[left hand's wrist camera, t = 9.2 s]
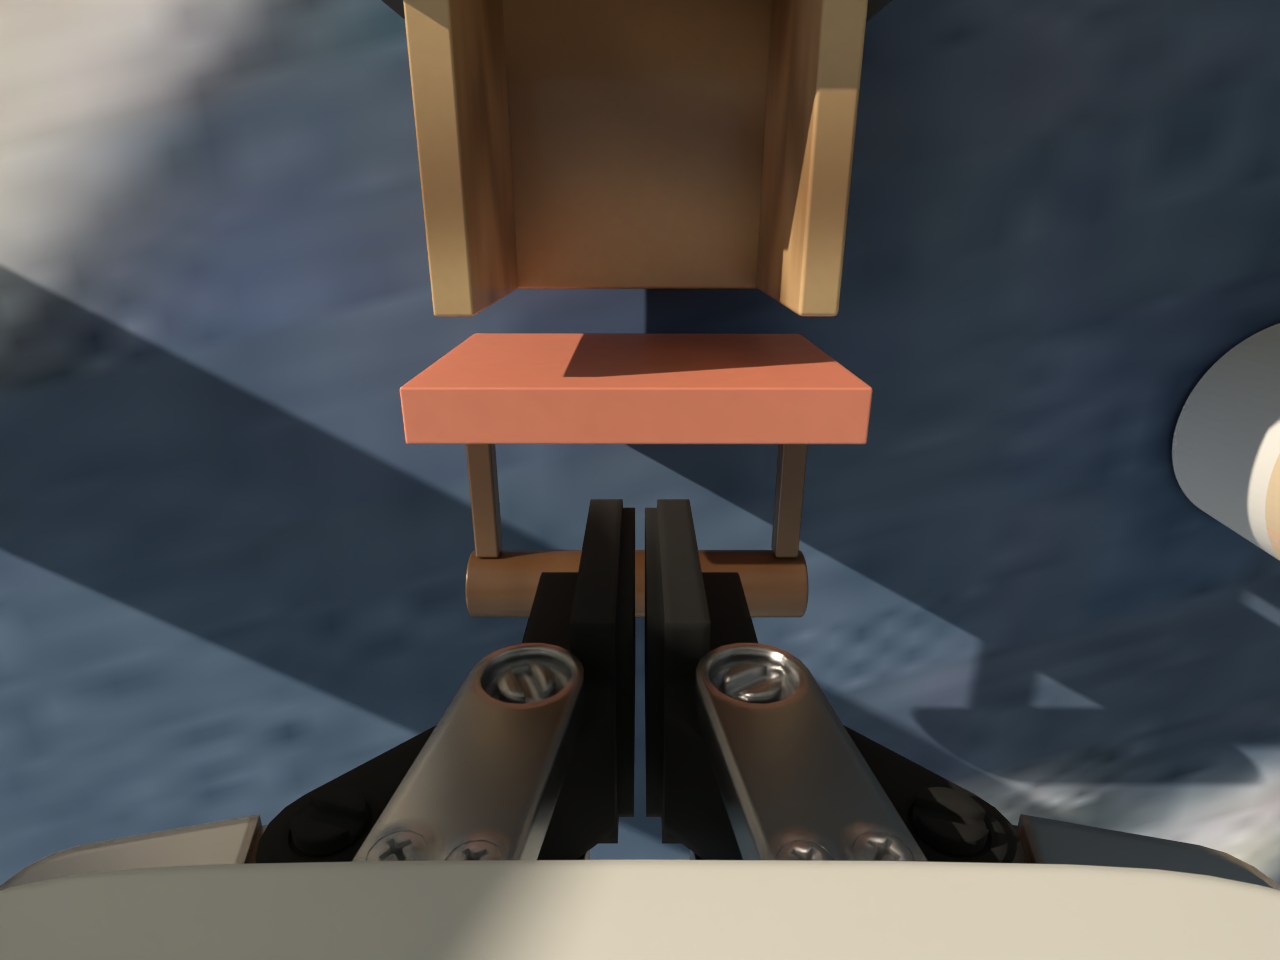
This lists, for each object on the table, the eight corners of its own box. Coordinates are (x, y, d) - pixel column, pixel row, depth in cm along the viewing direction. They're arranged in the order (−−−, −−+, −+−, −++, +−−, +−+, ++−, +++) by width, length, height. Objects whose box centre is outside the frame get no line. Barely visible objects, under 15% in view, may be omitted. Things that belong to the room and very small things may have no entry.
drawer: (784, 540, 23) (841, 669, 17) (490, 540, 23) (432, 668, 17) (870, -552, 15) (1055, -1169, 8) (403, -554, 15) (213, -1172, 8)
